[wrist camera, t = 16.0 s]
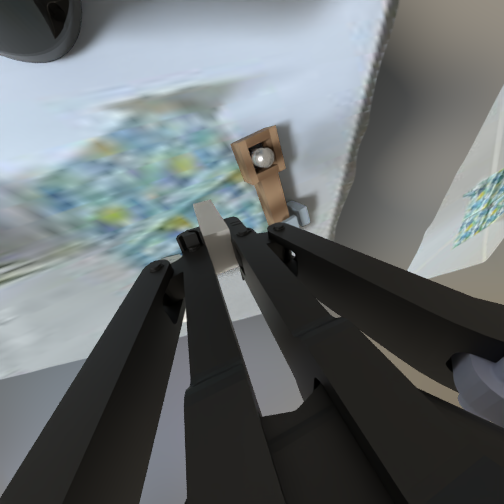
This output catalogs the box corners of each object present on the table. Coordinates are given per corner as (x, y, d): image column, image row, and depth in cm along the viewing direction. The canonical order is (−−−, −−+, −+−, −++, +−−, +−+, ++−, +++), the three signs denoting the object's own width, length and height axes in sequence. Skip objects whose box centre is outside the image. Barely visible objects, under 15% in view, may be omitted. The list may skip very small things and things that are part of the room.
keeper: (262, 214, 42) (278, 226, 35) (291, 197, 43) (312, 206, 36) (272, 239, 46) (289, 254, 39) (298, 224, 47) (319, 236, 40)
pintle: (241, 149, 34) (256, 149, 28) (255, 147, 35) (273, 146, 28) (244, 165, 36) (259, 169, 29) (257, 163, 36) (274, 165, 30)
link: (230, 144, 33) (237, 143, 29) (263, 128, 34) (275, 125, 30) (263, 231, 44) (272, 239, 40) (288, 218, 45) (299, 224, 41)
